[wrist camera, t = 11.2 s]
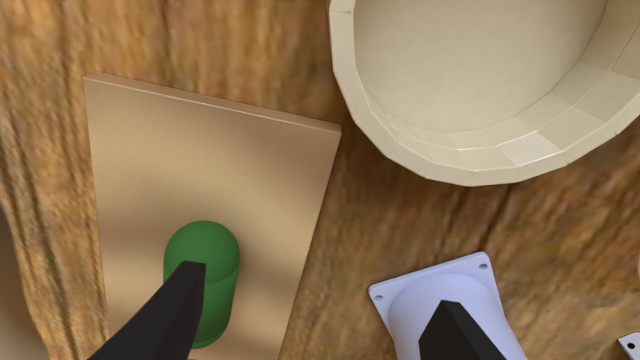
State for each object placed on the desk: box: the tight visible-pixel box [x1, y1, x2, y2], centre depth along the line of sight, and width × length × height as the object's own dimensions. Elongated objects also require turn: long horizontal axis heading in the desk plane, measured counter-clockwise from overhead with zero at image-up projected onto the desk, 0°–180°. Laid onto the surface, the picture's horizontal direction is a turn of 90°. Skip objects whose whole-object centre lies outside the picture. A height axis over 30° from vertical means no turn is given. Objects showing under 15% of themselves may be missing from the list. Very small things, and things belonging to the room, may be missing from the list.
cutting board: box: [83, 72, 342, 360], centre depth 22 cm, size 20×12×1 cm, turn 167°
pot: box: [326, 0, 640, 187], centre depth 14 cm, size 13×13×4 cm
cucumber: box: [163, 221, 240, 349], centre depth 20 cm, size 8×4×4 cm, turn 167°
